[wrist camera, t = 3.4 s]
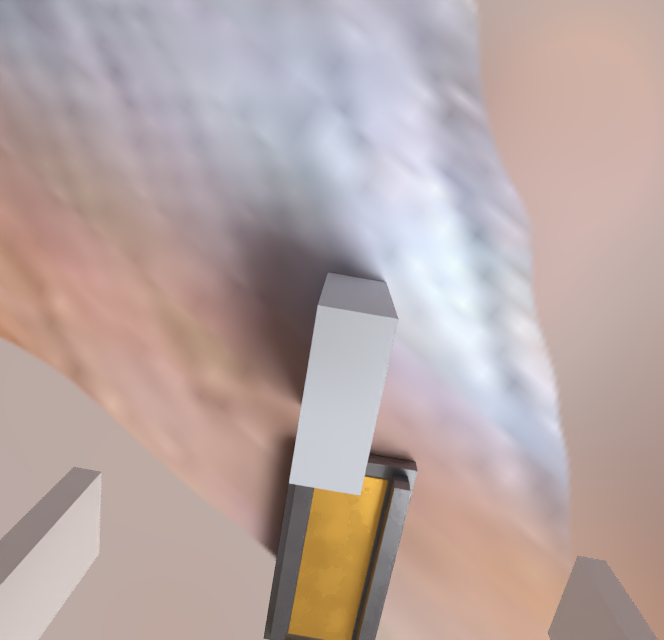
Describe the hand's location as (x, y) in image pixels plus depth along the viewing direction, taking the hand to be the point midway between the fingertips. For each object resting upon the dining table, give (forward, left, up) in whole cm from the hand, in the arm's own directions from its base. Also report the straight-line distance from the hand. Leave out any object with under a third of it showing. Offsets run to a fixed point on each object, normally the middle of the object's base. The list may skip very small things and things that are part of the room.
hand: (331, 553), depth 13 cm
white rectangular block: (0, 0, -17) cm, 17 cm away
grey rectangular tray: (+15, +2, -17) cm, 22 cm away
